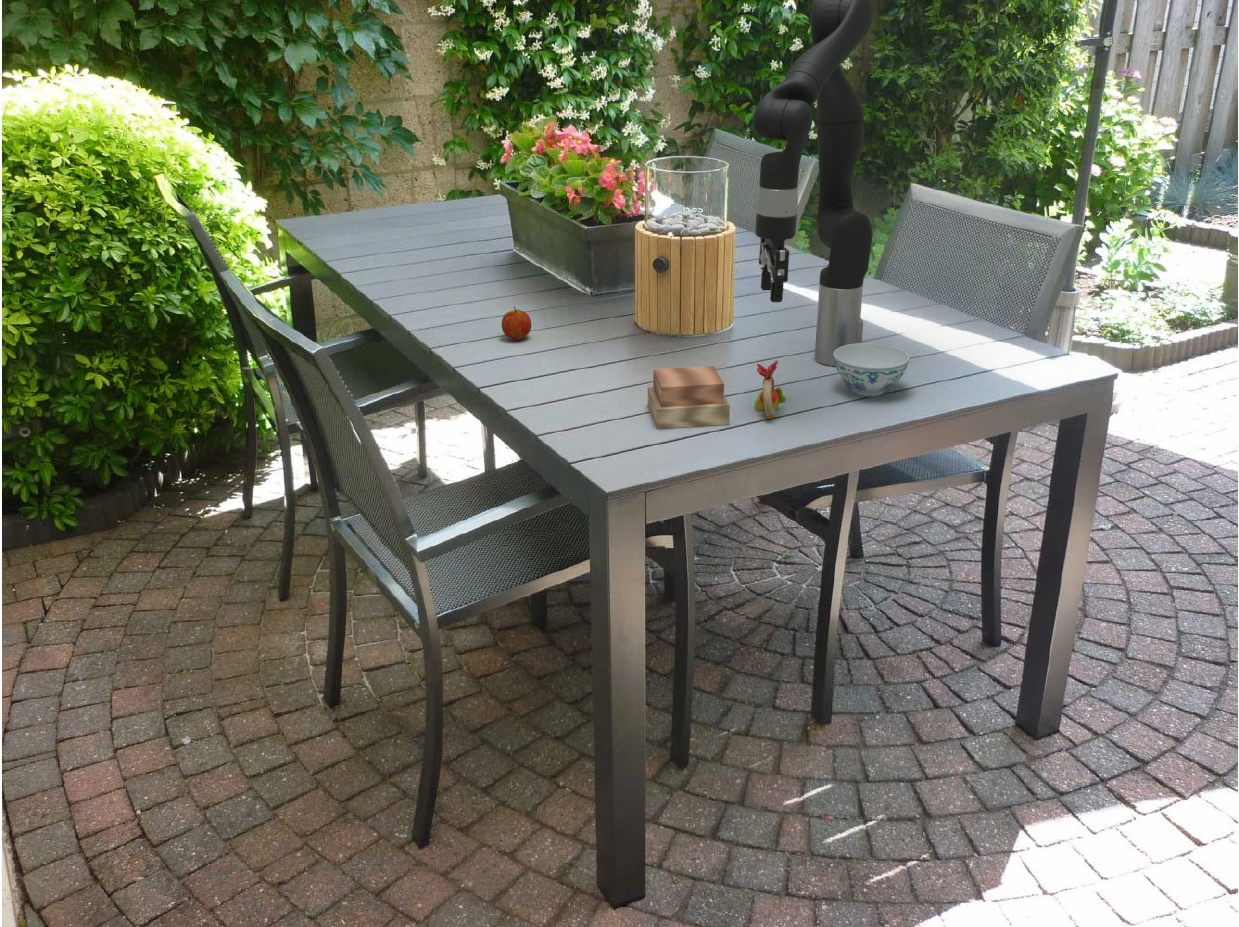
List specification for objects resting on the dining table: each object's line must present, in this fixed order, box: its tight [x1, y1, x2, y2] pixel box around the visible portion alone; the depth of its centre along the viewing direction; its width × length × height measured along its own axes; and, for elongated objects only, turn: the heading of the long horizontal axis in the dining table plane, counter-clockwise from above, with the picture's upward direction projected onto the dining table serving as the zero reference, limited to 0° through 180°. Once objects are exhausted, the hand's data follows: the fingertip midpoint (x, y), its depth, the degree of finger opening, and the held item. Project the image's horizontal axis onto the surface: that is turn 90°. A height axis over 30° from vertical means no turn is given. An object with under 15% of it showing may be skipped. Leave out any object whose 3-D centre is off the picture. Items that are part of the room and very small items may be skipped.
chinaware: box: [834, 342, 910, 397], centre depth 227 cm, size 15×15×8 cm
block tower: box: [647, 365, 731, 430], centre depth 216 cm, size 14×12×8 cm
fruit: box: [501, 306, 532, 340], centre depth 259 cm, size 7×7×8 cm
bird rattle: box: [753, 360, 787, 420], centre depth 215 cm, size 6×11×9 cm
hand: (771, 295), depth 214 cm, fingers open, 8 cm apart
